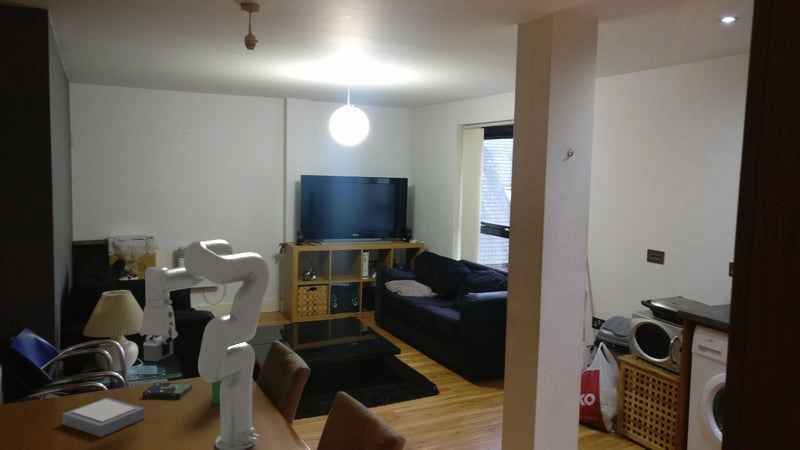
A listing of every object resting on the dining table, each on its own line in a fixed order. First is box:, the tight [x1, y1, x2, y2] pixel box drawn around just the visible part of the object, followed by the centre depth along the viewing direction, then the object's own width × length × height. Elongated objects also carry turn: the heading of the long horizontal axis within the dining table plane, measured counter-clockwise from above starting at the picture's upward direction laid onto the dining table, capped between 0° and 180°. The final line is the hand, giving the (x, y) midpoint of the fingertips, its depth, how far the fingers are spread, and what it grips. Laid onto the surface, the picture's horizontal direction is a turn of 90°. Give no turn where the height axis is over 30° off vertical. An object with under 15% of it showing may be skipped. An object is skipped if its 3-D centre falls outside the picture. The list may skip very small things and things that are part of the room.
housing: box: [143, 336, 174, 362], centre depth 191 cm, size 5×9×6 cm, turn 167°
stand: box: [61, 397, 146, 438], centre depth 186 cm, size 20×16×4 cm
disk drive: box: [142, 382, 193, 400], centre depth 211 cm, size 10×3×15 cm
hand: (158, 353), depth 191 cm, fingers closed on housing, 5 cm apart
